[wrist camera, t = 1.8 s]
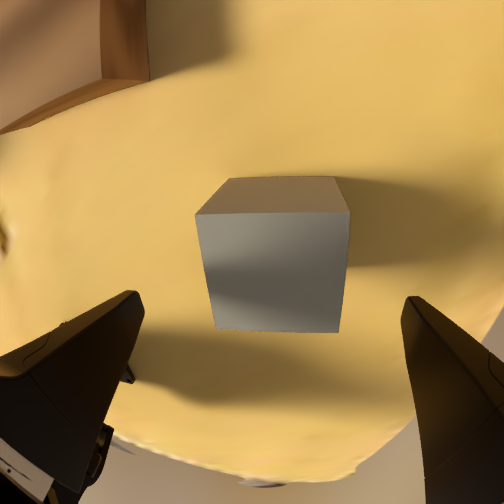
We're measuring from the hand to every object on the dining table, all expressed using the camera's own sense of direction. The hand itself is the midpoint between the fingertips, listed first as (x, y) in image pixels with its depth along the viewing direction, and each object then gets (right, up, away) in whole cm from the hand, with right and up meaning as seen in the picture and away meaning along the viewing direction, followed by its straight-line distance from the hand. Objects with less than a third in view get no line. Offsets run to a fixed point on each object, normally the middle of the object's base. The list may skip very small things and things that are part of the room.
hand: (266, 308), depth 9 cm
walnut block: (-11, +15, +1) cm, 18 cm away
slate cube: (+1, +3, +6) cm, 7 cm away
